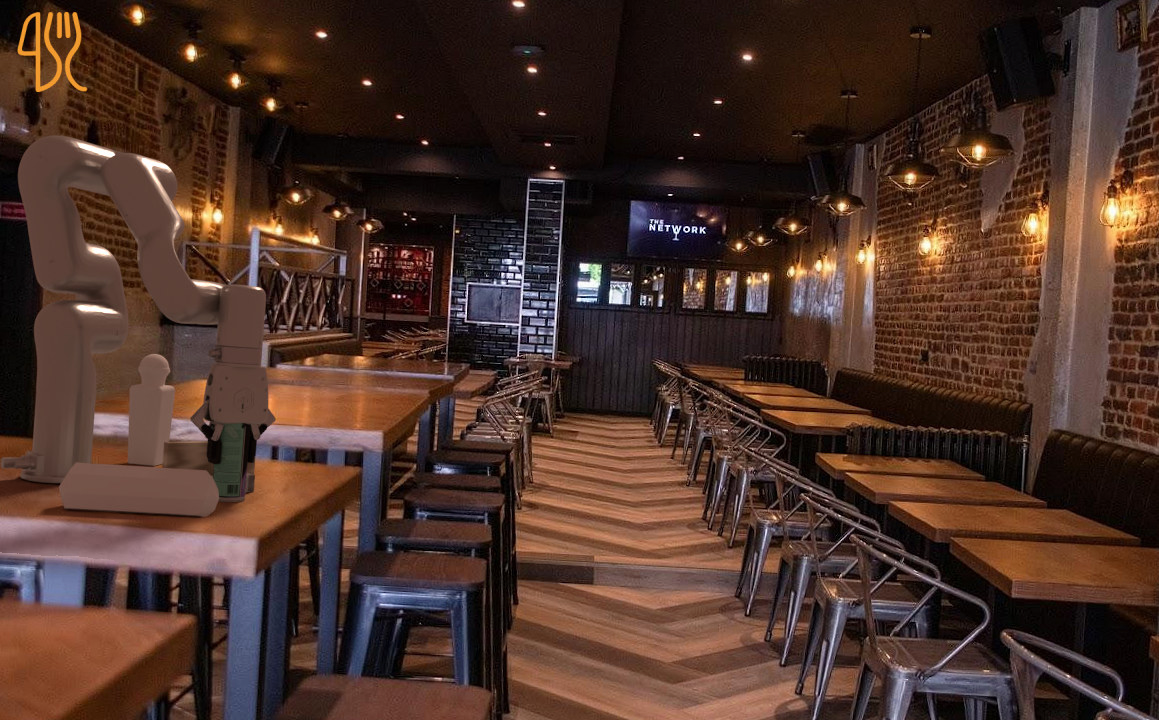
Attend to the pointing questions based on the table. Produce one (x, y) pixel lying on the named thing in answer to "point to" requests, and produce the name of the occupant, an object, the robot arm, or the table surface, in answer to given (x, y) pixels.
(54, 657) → the table surface
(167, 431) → the beige square bottle
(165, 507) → the chamfered beige bar
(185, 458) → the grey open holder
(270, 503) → the table surface
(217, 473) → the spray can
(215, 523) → the table surface
